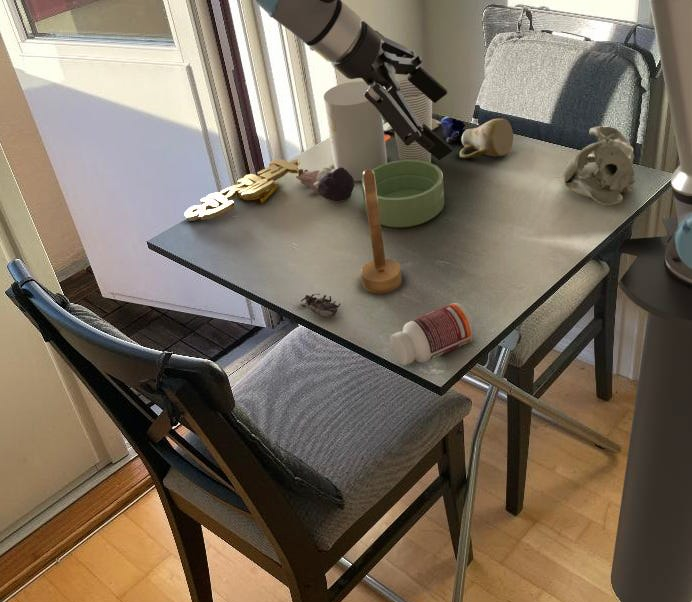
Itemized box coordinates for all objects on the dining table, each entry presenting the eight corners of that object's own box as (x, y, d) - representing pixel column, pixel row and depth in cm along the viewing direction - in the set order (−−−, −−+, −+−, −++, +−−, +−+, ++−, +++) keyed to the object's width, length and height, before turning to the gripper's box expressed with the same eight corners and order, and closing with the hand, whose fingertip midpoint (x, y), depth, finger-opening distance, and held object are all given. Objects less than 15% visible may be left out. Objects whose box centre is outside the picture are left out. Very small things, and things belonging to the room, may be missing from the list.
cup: (437, 152, 163) (432, 77, 152) (437, 173, 156) (431, 95, 146) (395, 155, 164) (387, 81, 154) (393, 176, 158) (385, 100, 147)
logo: (279, 186, 161) (245, 182, 164) (278, 182, 160) (244, 178, 164) (262, 202, 157) (228, 198, 160) (262, 199, 156) (227, 195, 159)
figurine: (324, 164, 162) (370, 170, 150) (320, 197, 163) (365, 205, 152) (284, 158, 156) (328, 164, 145) (280, 192, 158) (323, 201, 146)
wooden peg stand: (409, 276, 132) (397, 163, 119) (387, 297, 128) (373, 184, 115) (376, 266, 135) (362, 156, 122) (355, 287, 132) (337, 176, 118)
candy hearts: (379, 118, 172) (379, 117, 172) (402, 128, 167) (401, 127, 167) (352, 142, 171) (351, 140, 171) (374, 152, 166) (373, 151, 166)
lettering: (198, 227, 151) (196, 223, 150) (179, 214, 158) (177, 210, 158) (309, 167, 157) (307, 162, 157) (285, 157, 165) (284, 153, 165)
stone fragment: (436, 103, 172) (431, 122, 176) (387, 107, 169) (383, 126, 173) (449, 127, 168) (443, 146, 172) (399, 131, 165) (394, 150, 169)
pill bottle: (452, 293, 116) (386, 320, 113) (477, 318, 112) (409, 347, 109) (451, 324, 121) (387, 351, 118) (474, 349, 117) (409, 378, 114)
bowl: (458, 197, 148) (457, 167, 145) (417, 236, 140) (414, 206, 137) (393, 182, 156) (390, 154, 152) (350, 219, 148) (346, 190, 144)
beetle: (322, 299, 131) (321, 282, 129) (342, 318, 126) (341, 300, 124) (300, 305, 130) (299, 288, 128) (319, 325, 125) (318, 307, 123)
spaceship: (474, 144, 162) (456, 158, 165) (478, 129, 166) (460, 143, 169) (449, 118, 159) (431, 133, 162) (454, 103, 163) (436, 118, 167)
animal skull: (566, 187, 154) (547, 124, 149) (632, 165, 151) (616, 99, 145) (574, 222, 139) (554, 153, 134) (649, 198, 135) (631, 126, 130)
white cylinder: (343, 155, 167) (332, 82, 157) (392, 155, 164) (385, 81, 154) (329, 180, 160) (316, 105, 150) (380, 181, 157) (371, 105, 147)
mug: (469, 139, 165) (494, 99, 158) (501, 171, 162) (528, 132, 155) (447, 145, 160) (471, 104, 153) (479, 178, 158) (506, 138, 150)
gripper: (329, 8, 125) (422, 88, 137) (326, 114, 111) (429, 193, 123) (363, -26, 120) (456, 60, 132) (364, 80, 106) (467, 166, 119)
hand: (443, 124), depth 128 cm, fingers open, 13 cm apart
